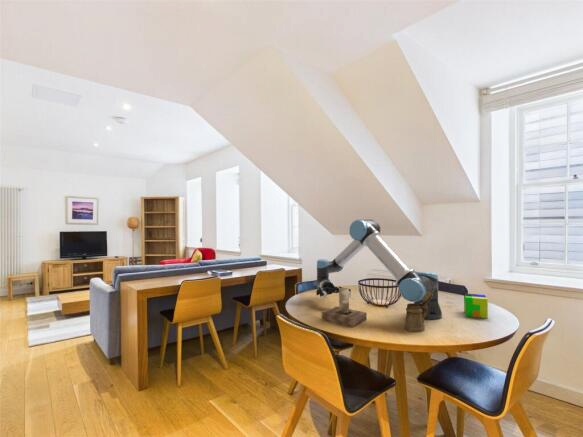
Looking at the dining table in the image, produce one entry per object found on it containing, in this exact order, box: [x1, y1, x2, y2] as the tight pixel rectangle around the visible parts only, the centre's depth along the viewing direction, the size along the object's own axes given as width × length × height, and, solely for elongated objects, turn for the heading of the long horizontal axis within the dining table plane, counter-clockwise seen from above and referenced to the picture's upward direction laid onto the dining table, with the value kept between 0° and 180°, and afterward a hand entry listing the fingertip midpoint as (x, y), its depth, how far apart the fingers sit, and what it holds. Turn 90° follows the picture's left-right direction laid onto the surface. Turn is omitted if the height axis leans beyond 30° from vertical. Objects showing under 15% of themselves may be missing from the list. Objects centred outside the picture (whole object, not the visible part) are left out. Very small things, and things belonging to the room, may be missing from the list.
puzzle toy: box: [463, 293, 489, 319], centre depth 171 cm, size 10×10×10 cm
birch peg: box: [338, 287, 350, 315], centre depth 162 cm, size 5×5×16 cm
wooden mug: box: [403, 291, 433, 333], centre depth 149 cm, size 9×14×18 cm, turn 90°
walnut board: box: [321, 306, 368, 328], centre depth 162 cm, size 18×14×4 cm
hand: (338, 295), depth 172 cm, fingers open, 13 cm apart
